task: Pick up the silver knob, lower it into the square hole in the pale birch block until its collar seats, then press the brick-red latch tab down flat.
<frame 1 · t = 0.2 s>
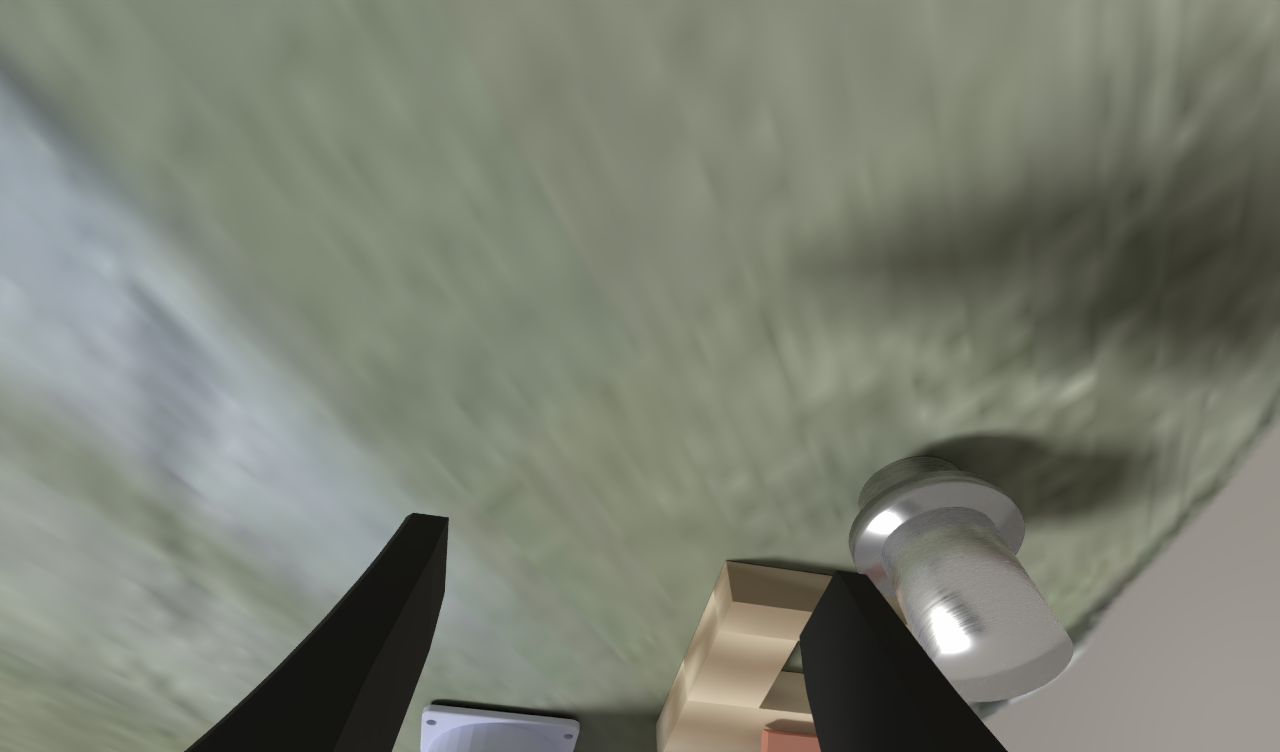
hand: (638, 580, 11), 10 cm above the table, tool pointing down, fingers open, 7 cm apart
silver knob: (910, 495, 24), on the table
hitch block: (786, 664, 30), on the table
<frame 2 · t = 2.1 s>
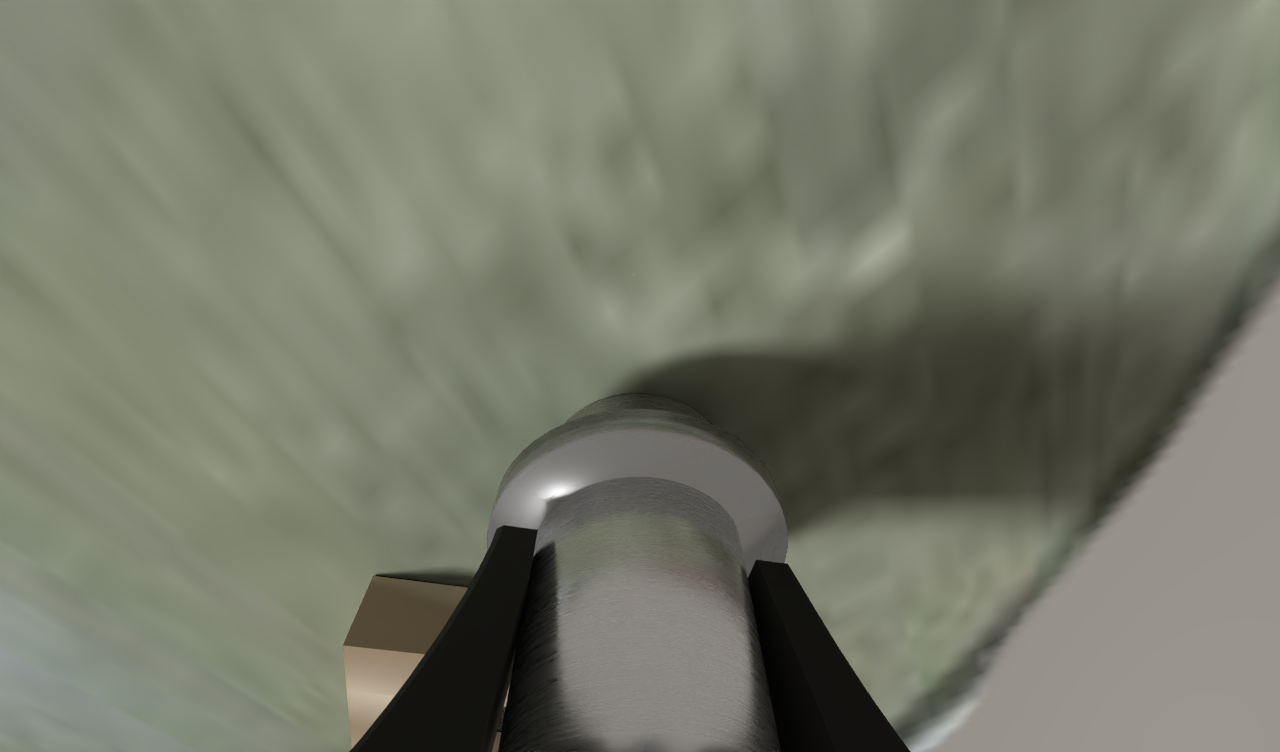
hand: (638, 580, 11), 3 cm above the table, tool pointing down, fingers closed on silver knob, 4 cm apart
silver knob: (637, 465, 14), on the table, touching gripper
hitch block: (536, 725, 20), on the table
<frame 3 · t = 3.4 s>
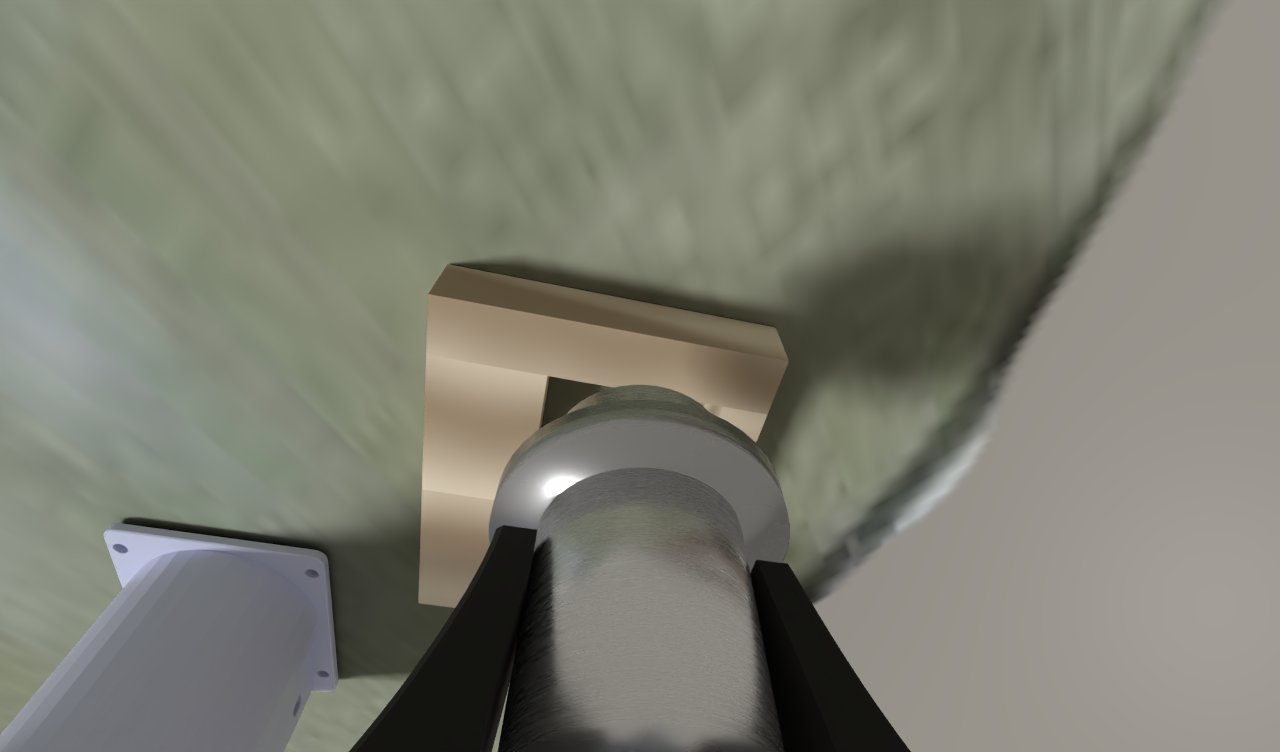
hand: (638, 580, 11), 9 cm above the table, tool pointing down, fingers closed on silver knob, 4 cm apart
silver knob: (638, 456, 14), point 6 cm above the table, touching gripper
hitch block: (582, 459, 22), on the table
when the fingers open (4 cm above the table, at t = 5.2 s): silver knob stays where it is, resting on hitch block.
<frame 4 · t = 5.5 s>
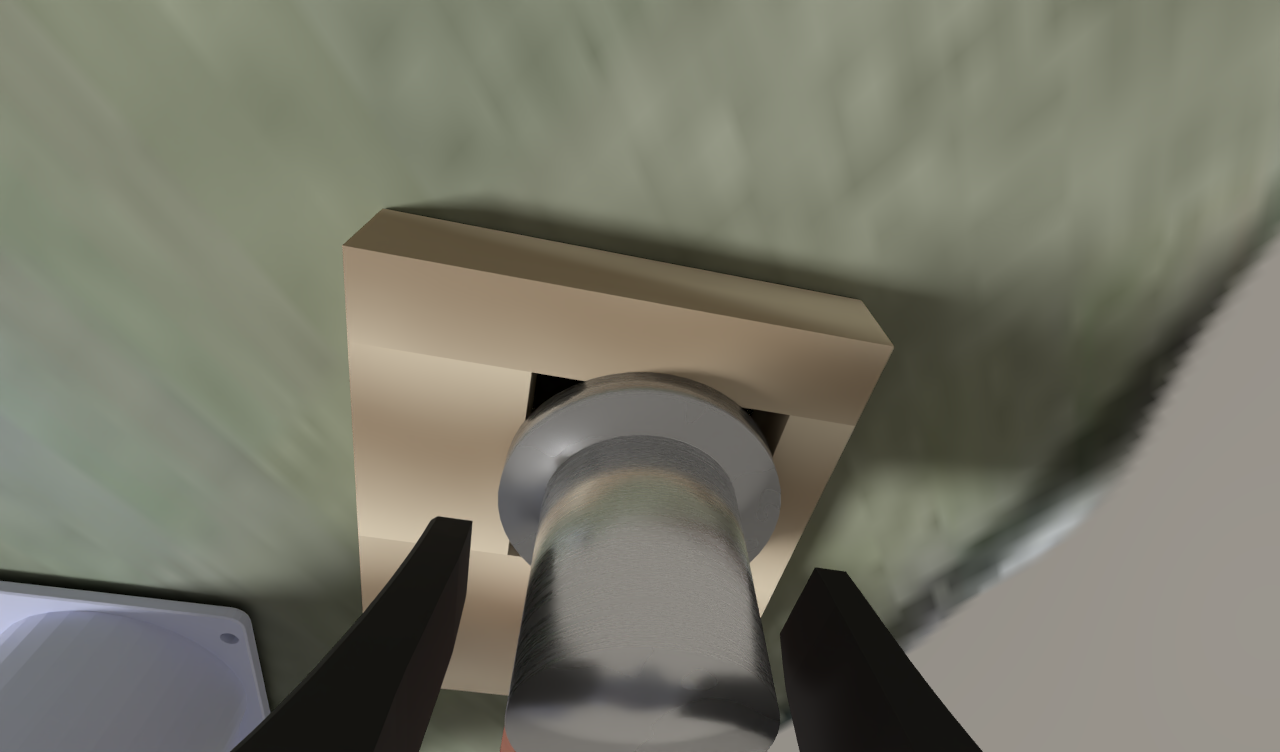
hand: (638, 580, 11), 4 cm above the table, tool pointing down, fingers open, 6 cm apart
latch tab: (594, 713, 14), point 4 cm above the table, hinge at 50.0°
silver knob: (638, 433, 15), resting on hitch block
hitch block: (584, 487, 16), on the table
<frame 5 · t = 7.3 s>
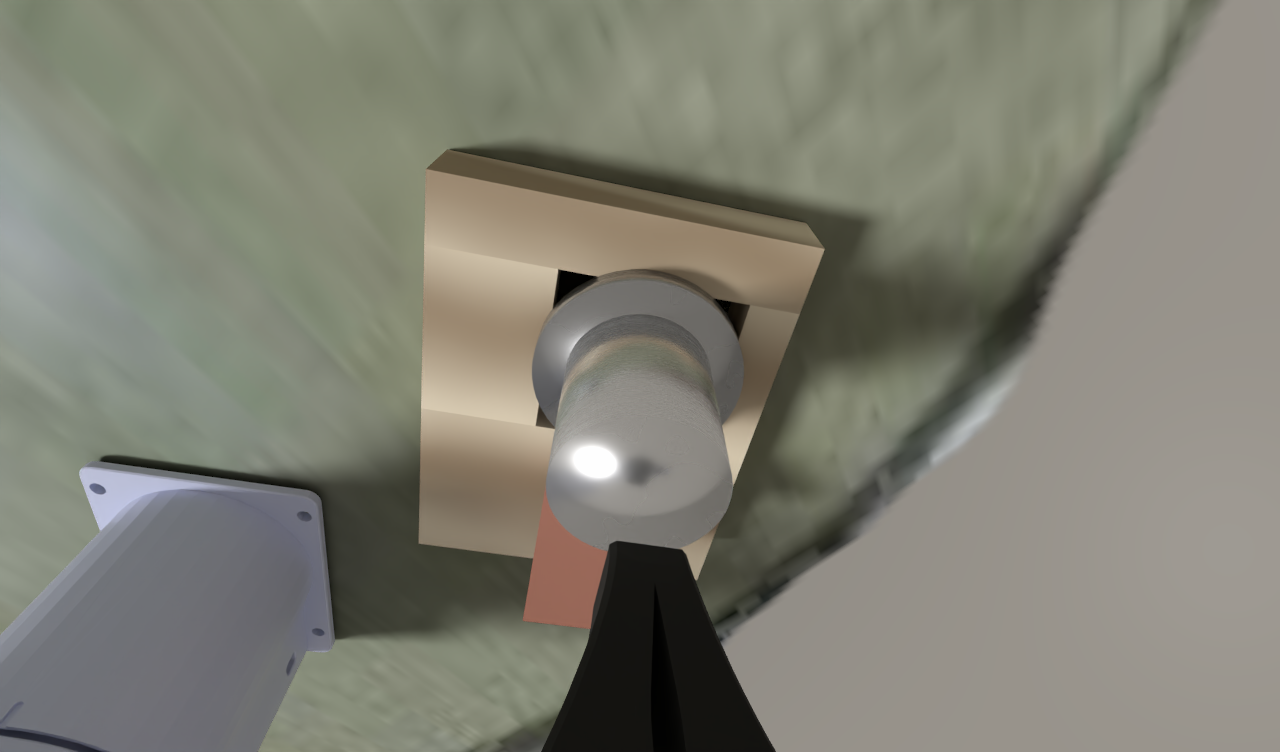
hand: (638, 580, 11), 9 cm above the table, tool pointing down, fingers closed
latch tab: (602, 547, 19), point 4 cm above the table, hinge at 50.0°
silver knob: (637, 333, 19), resting on hitch block
hitch block: (594, 382, 20), on the table
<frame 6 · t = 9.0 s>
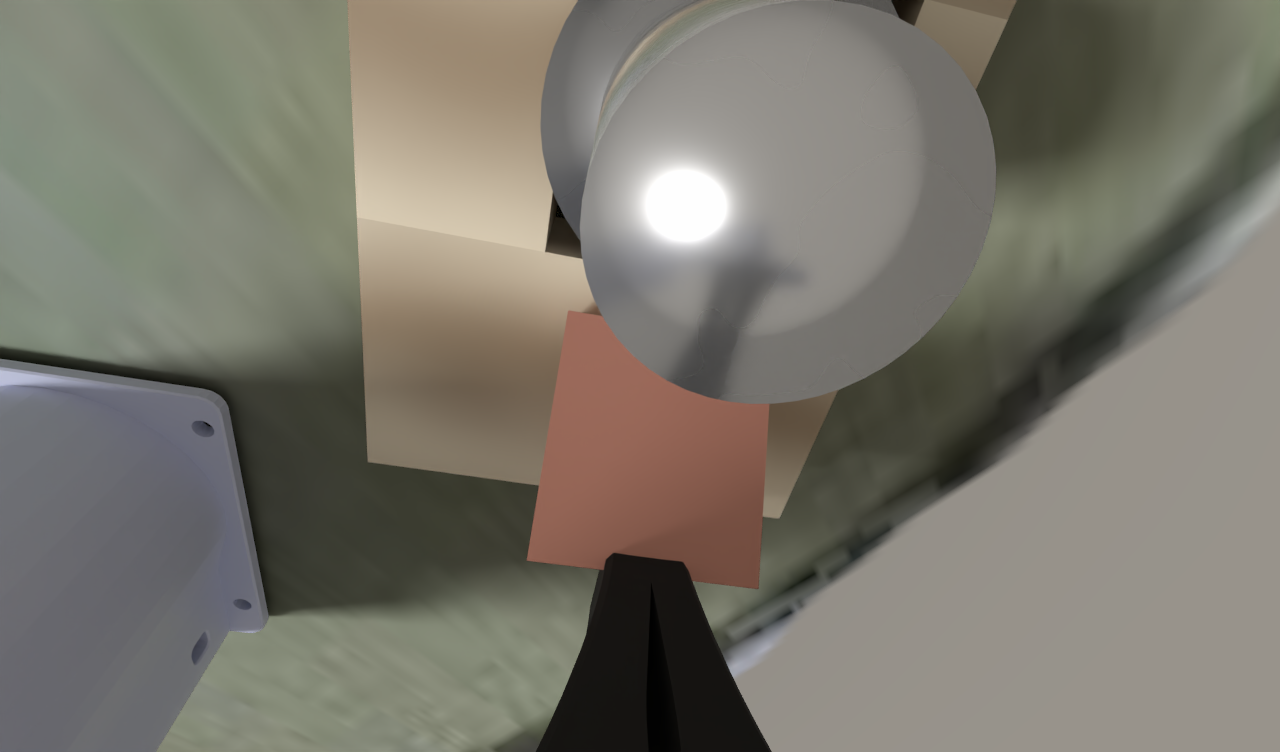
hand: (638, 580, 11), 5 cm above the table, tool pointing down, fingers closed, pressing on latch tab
latch tab: (655, 448, 11), point 4 cm above the table, hinge at 49.5°, touching gripper
silver knob: (707, 108, 12), resting on hitch block
hitch block: (634, 204, 13), on the table
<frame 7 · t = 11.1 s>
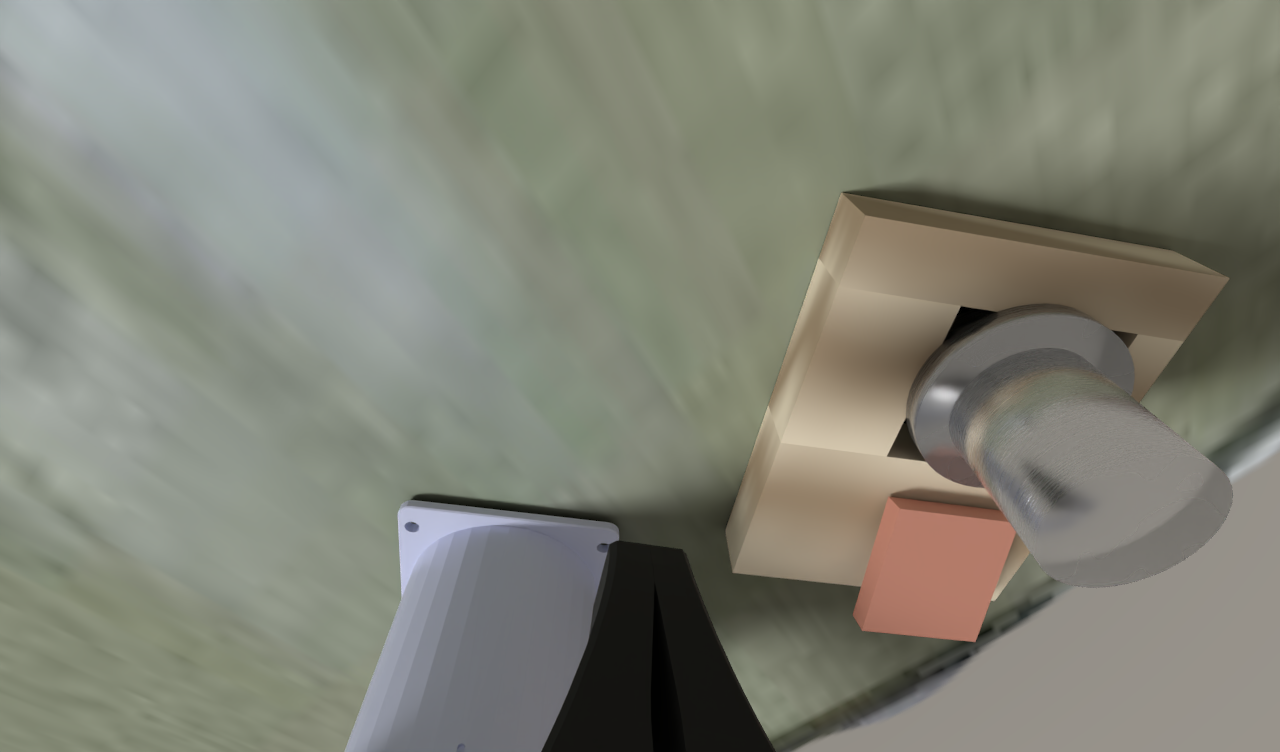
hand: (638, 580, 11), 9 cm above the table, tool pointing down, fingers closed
latch tab: (932, 570, 20), point 3 cm above the table, hinge at 15.7°
silver knob: (978, 362, 19), resting on hitch block
hitch block: (917, 410, 21), on the table
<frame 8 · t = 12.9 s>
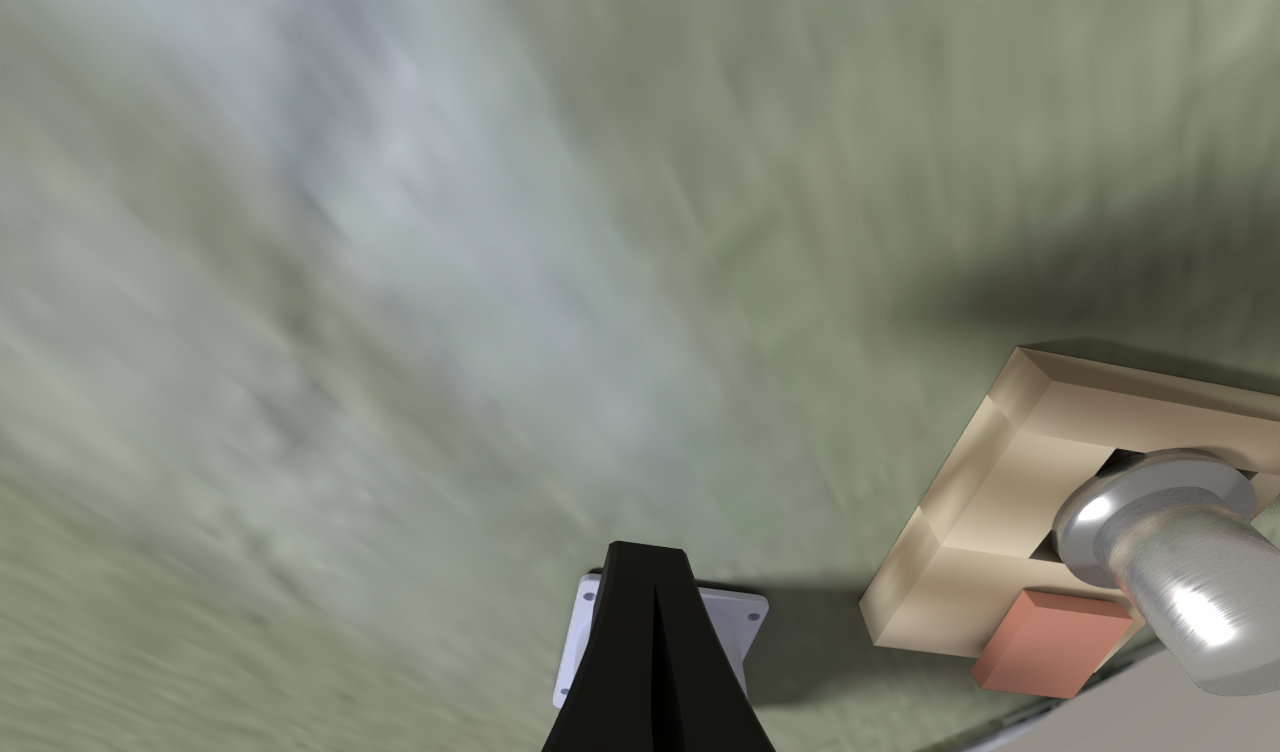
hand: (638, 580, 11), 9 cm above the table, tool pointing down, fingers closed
latch tab: (1048, 646, 24), point 3 cm above the table, hinge at 6.0°
silver knob: (1106, 478, 23), resting on hitch block
hitch block: (1046, 512, 24), on the table
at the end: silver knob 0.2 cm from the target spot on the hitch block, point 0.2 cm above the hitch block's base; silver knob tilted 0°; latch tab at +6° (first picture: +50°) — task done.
